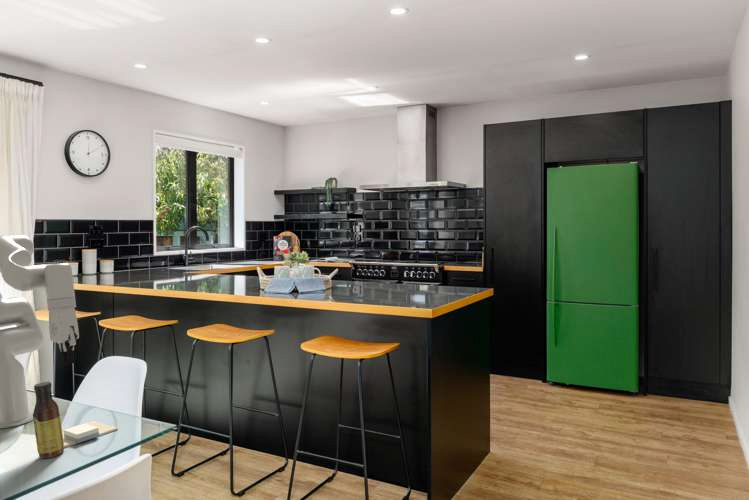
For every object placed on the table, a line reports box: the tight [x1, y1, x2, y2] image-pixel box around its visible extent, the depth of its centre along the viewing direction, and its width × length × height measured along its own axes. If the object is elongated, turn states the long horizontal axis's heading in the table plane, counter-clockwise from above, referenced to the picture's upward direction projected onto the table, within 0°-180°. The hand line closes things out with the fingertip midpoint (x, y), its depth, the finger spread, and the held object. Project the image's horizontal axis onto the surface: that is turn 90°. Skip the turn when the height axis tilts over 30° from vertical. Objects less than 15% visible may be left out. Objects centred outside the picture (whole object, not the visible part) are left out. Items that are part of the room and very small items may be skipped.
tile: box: [63, 422, 100, 444], centre depth 165 cm, size 2×9×6 cm
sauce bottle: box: [32, 381, 65, 459], centre depth 154 cm, size 6×6×20 cm
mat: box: [62, 420, 119, 449], centre depth 170 cm, size 16×16×1 cm
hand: (68, 363), depth 172 cm, fingers closed
